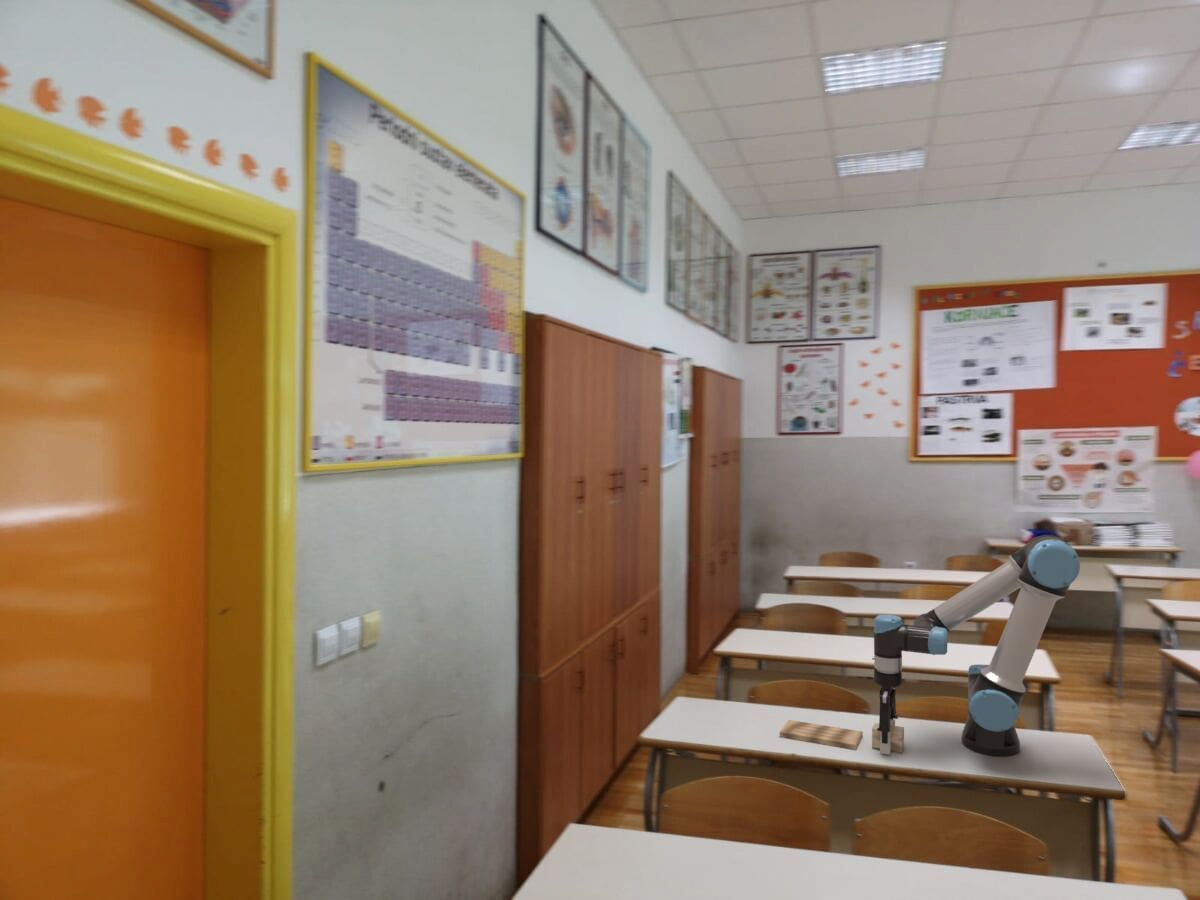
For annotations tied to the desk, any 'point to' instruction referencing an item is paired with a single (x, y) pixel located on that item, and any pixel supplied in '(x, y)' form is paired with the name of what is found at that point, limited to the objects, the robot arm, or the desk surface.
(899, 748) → the block
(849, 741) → the board
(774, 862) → the desk surface
